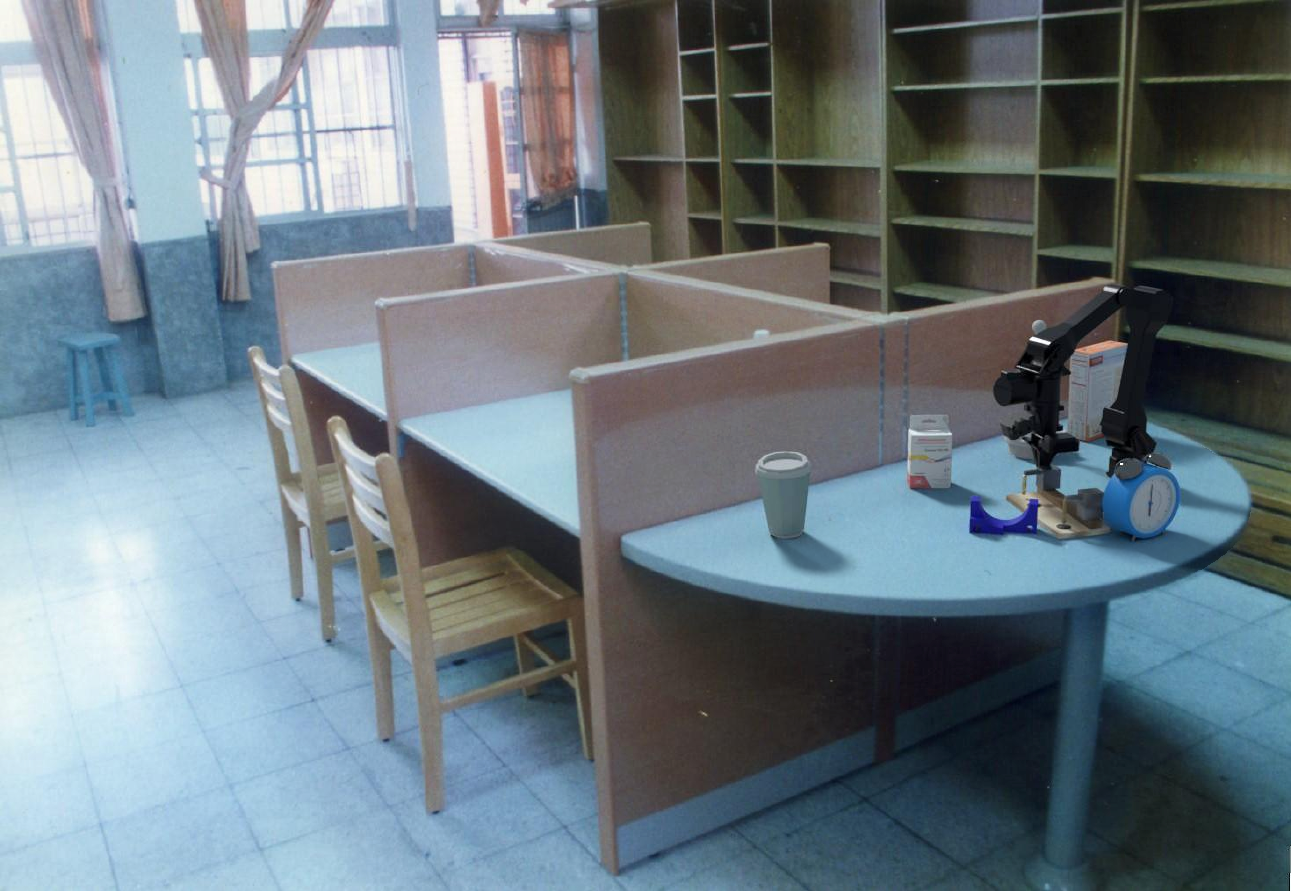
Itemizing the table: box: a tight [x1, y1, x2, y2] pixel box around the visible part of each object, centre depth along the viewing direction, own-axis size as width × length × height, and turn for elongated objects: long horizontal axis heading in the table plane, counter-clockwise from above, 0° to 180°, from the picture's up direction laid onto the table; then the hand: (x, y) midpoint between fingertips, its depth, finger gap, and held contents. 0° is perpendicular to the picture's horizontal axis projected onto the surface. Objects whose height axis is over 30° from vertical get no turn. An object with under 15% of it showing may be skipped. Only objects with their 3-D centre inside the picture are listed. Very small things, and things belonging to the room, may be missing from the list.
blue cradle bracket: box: [968, 495, 1038, 536], centre depth 221 cm, size 12×4×6 cm, turn 72°
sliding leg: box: [1021, 464, 1062, 495], centre depth 235 cm, size 7×3×5 cm, turn 98°
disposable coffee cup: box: [754, 450, 813, 540], centre depth 225 cm, size 11×11×15 cm
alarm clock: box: [1103, 452, 1181, 542], centre depth 215 cm, size 13×6×15 cm, turn 113°
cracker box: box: [1066, 340, 1128, 443], centre depth 272 cm, size 14×6×21 cm, turn 123°
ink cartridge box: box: [906, 414, 953, 489], centre depth 246 cm, size 9×5×15 cm, turn 84°
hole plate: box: [1005, 486, 1111, 540], centre depth 227 cm, size 10×22×8 cm, turn 8°
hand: (1041, 474), depth 238 cm, fingers closed
